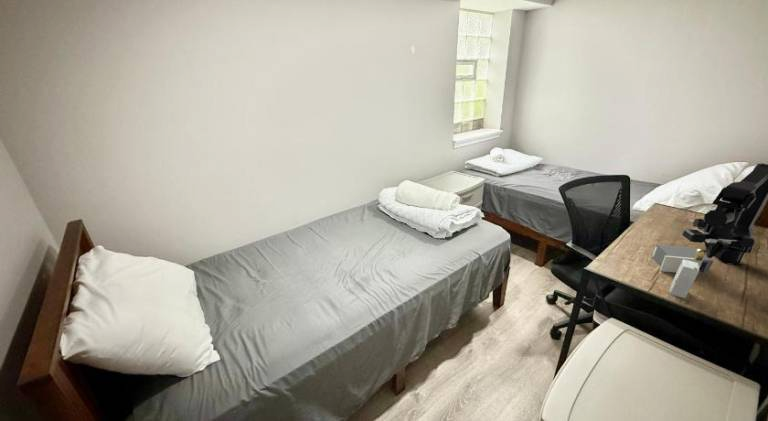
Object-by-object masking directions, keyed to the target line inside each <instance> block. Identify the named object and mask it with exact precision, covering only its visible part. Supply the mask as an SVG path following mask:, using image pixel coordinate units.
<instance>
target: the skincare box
mask: <svg viewBox="0 0 768 421" xmlns="http://www.w3.org/2000/svg"><path fill="white" fill-rule="evenodd" d="M698 272H699V265H698V263H696V262H692V261H688V260H684V259H683V260H682V263H681V265H680V267H679V269H678V271H677V273H676V272H675V273H676V274H675V275H674V278H673V280H672V282H671V283H670V287H669V294H670V295H671V296H672V295H673V296H676V297H679V298H682V299H686V298H687V296H688V294H689V291H690V290H691V288H692V286H693V284H694V282H695V281H696V278H697V276H698V275H699V274H698Z"/></svg>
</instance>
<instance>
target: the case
mask: <svg viewBox="0 0 768 421" xmlns="http://www.w3.org/2000/svg"><path fill="white" fill-rule="evenodd" d="M697 249H698V248H697V247H691V246H689V247H688V246H680V245H679V246H678V245H669V244H659V243H658V244H656V245H655V248H654V250H653V253H652V256H651V258H652V259H653V260H654V262H656V263H657V265H658V266H660V267H661V264H662V262H663V259H664V257H665V255H666V256H676V257H687V258H694V256H695V254H696V251H697ZM713 263H714V259H712V258H708V257H707V256H706V254H705V255H704V257H703V262H702V264H701V266H700V268H699V272H698V274H697V275H704V276H706V275H707V276H708V274H709V272H710V270H711V267H712V265H713Z"/></svg>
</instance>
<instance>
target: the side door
mask: <svg viewBox="0 0 768 421" xmlns="http://www.w3.org/2000/svg"><path fill="white" fill-rule="evenodd" d="M704 255H706V249H705V248H704V249H703V248H699V247H698V248H697V251H696V254H695V256H694V258H687V257H676V256H666V255H665V257H664V259H663V262H662V264H661V266H660V267H659V271H660V272H665V273H666V272H667V273H677V271H678V269H679V267H680V265H681V263H682V260H683V259H684V260H688V261H692V262H696V263H698V265H699V268H700V266H701V264H702V262H703V257H704Z"/></svg>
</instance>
